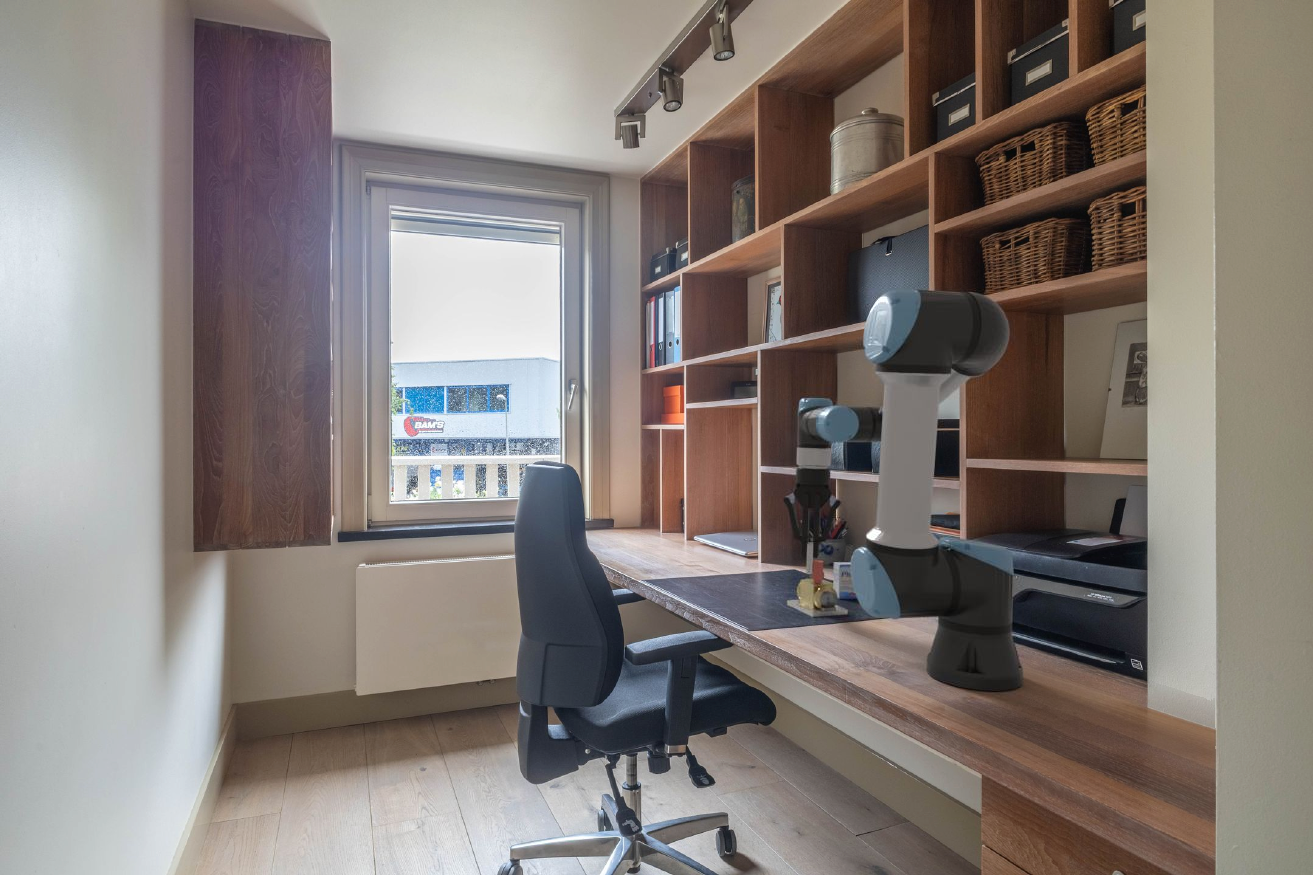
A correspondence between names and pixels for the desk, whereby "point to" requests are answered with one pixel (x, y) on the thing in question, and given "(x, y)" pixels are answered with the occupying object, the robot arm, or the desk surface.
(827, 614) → the valve fixture
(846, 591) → the medicine box
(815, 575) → the lever
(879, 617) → the robot arm
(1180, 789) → the desk surface
